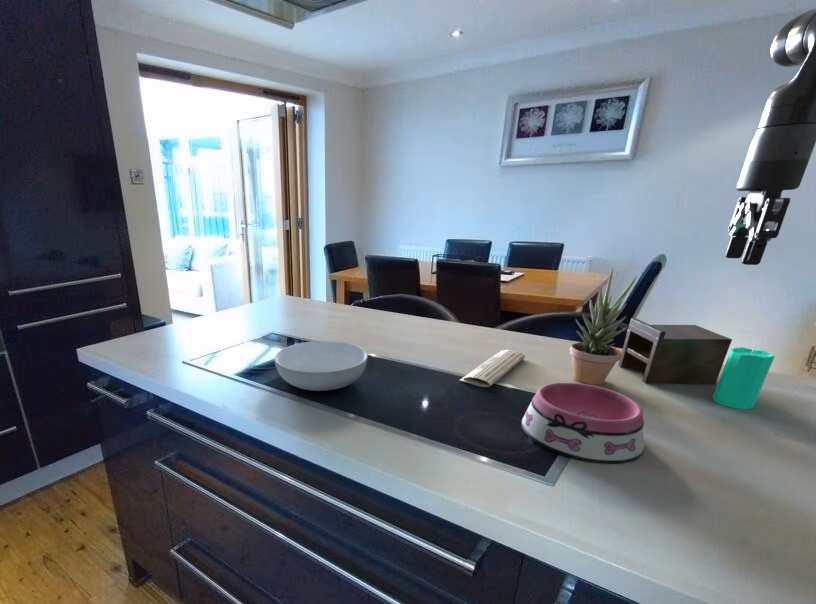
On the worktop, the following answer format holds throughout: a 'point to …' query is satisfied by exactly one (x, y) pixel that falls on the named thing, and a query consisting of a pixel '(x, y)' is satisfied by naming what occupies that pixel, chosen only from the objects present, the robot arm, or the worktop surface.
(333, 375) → the serving bowl
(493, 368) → the newspaper
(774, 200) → the robot arm
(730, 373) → the candle
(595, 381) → the potted plant
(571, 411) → the dog bowl
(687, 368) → the shelf
